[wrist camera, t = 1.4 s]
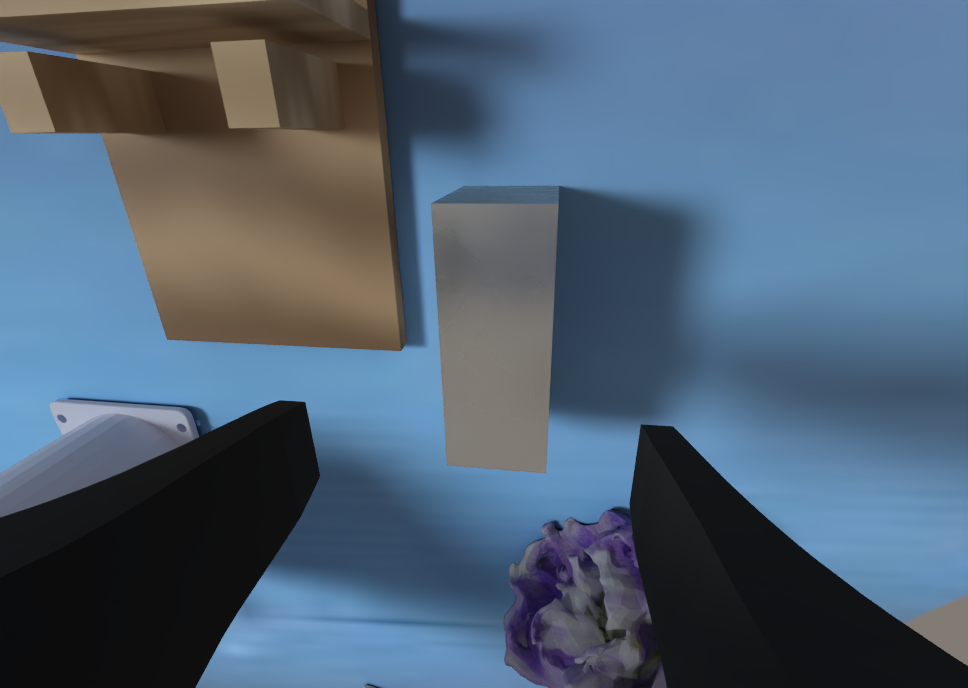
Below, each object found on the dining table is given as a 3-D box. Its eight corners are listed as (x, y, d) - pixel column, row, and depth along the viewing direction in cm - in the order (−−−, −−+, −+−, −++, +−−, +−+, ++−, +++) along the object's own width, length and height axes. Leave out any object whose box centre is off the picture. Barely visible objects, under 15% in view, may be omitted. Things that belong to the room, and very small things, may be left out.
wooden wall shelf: (406, 343, 20) (353, 415, 15) (180, 332, 22) (60, 395, 17) (372, -26, 15) (272, -112, 10) (76, -5, 17) (-147, -70, 11)
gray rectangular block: (549, 399, 21) (546, 473, 16) (470, 394, 21) (446, 465, 17) (559, 185, 17) (558, 203, 12) (464, 185, 17) (431, 203, 13)
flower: (834, 734, 17) (637, 794, 13) (669, 714, 23) (502, 751, 19) (744, 490, 22) (578, 481, 18) (626, 527, 28) (484, 526, 24)
